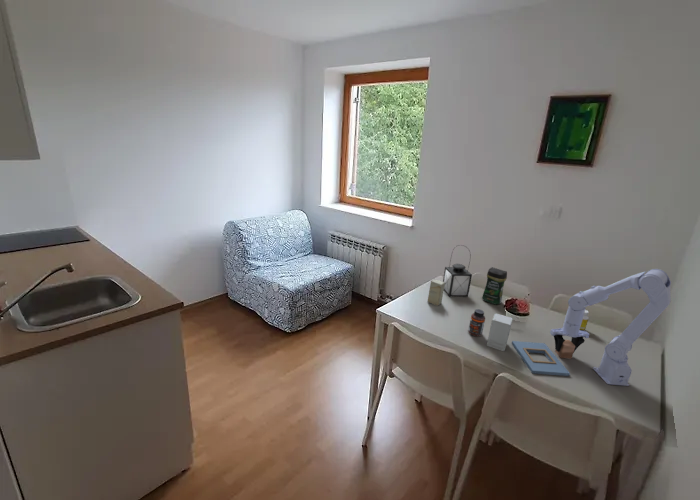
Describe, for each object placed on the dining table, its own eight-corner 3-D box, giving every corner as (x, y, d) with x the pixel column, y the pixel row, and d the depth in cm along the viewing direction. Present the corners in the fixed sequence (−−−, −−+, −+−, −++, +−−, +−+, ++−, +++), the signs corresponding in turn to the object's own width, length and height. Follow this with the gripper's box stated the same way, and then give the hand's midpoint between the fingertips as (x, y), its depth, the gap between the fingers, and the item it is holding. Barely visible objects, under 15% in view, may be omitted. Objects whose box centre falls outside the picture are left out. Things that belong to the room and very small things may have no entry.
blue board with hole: (569, 376, 134) (570, 372, 134) (531, 373, 134) (532, 369, 134) (544, 345, 153) (545, 342, 153) (511, 343, 153) (512, 340, 153)
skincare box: (427, 302, 187) (430, 280, 183) (431, 299, 190) (434, 278, 186) (437, 306, 183) (441, 284, 179) (442, 303, 186) (445, 282, 182)
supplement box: (504, 352, 147) (510, 325, 143) (486, 345, 150) (491, 319, 146) (507, 343, 153) (513, 317, 149) (489, 338, 156) (494, 312, 152)
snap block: (571, 358, 145) (575, 346, 143) (560, 357, 145) (564, 345, 143) (565, 352, 149) (569, 339, 147) (554, 351, 150) (558, 339, 148)
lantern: (468, 296, 196) (477, 248, 187) (448, 296, 194) (457, 248, 185) (459, 288, 206) (468, 242, 197) (441, 288, 205) (448, 241, 196)
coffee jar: (479, 300, 192) (486, 268, 186) (485, 295, 198) (491, 264, 192) (497, 306, 186) (504, 273, 180) (503, 301, 192) (510, 270, 186)
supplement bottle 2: (586, 332, 166) (592, 314, 163) (574, 331, 167) (579, 312, 163) (582, 326, 171) (587, 308, 168) (569, 325, 172) (575, 307, 168)
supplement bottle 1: (466, 334, 158) (471, 311, 155) (469, 328, 163) (473, 306, 160) (480, 338, 156) (485, 315, 152) (482, 332, 161) (487, 310, 157)
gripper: (585, 318, 146) (576, 346, 150) (549, 315, 146) (542, 344, 151) (595, 327, 139) (586, 356, 144) (558, 324, 140) (550, 354, 144)
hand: (564, 350), depth 147 cm, fingers open, 5 cm apart
